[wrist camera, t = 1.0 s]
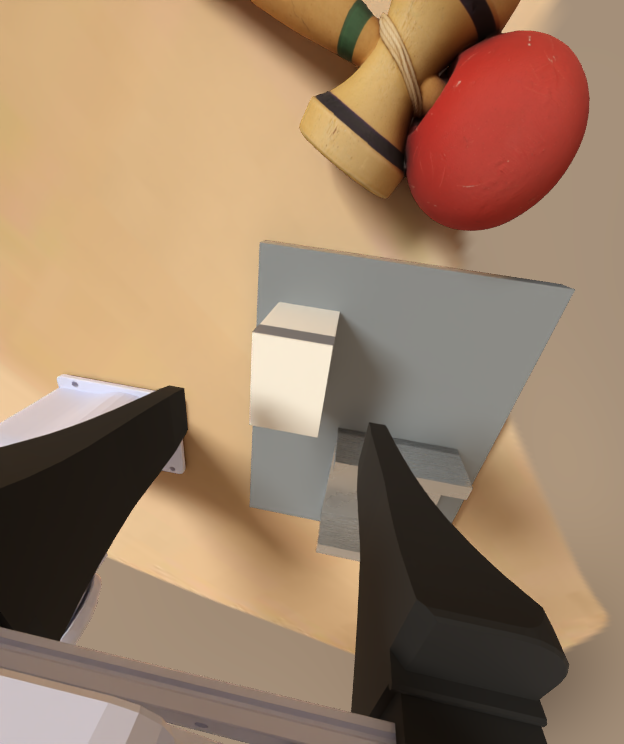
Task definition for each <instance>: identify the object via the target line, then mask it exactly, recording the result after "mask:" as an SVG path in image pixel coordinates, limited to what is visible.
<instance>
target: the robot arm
mask: <svg viewBox="0 0 624 744" xmlns="http://www.w3.org/2000/svg"><path fill="white" fill-rule="evenodd" d="M57 382H58V386H59V388H58V389H56V390H54V391H53V392H51V393H49V394H48V395H46V396H44V397H43V398H41V399H39V400H38V401H36V402H34V403H33V404H31V405H29V406H28V407H26V408H24V409H23V410H21V411H19V412H18V413H16V414H14V415H13V416H11V417H9V418H8V419H6V420H4V421H3V422H1V423H0V744H222V743H219V742H217V741H214V740H211V739H209V738H206V737H203V736H200V735H198V734H195V733H192V732H189V731H187V730H184V729H181V728H178V727H175V726H172V725H169V724H167V723H171V724H175V725H179V726H182V727H187V728H190V729H194V730H198V731H202V732H206V733H210V734H214V735H218V736H222V737H226V738H230V739H233V740H238V741H241V742H245V743H249V744H547V742H546V739H545V736H544V733H543V730H542V727H545V726H546V725H547V719H546V716H545V713H544V710H543V708H542V705H541V702H540V699H541V698H542V697H543V696H544V695H546V694H547V693H548V692H550V691H551V690H552V689H553V688H555V687H556V686H557V685H559V684H560V683H561V682H562V681H563V679H564V678H565V677H566V675H567V673H568V668H569V663H568V661H567V659H566V656H565V654H564V652H563V650H562V647H561V645H560V643H559V640H558V638H557V636H556V633H555V631H554V629H553V627H552V625H551V623H550V621H549V619H548V617H547V615H546V613H545V611H544V610H543V608H542V607H541V606H540V605H539V604H538V603H536V602H535V601H534V600H533V599H532V598H530V597H529V596H528V595H527V594H526V593H524V592H523V591H522V590H521V589H520V588H519V587H517V586H516V585H515V584H514V583H513V582H511V581H510V580H509V579H508V578H507V577H505V576H504V575H503V574H502V573H501V572H500V571H499V570H498V569H497V568H495V567H494V566H493V565H492V564H491V563H490V562H489V561H488V560H487V559H486V558H485V557H484V556H483V555H482V554H480V553H479V552H478V551H477V550H476V549H475V548H474V547H473V546H472V545H471V544H470V543H469V542H468V541H467V540H466V538H465V537H464V536H463V535H462V534H461V533H460V532H459V531H458V530H457V529H456V528H455V527H454V526H453V525H452V524H451V522H450V521H449V520H448V519H447V518H446V517H445V516H444V514H443V513H442V512H441V511H440V510H439V508H438V507H437V506H436V505H435V503H434V502H433V501H432V500H431V498H430V497H429V496H428V494H427V493H426V492H425V490H424V489H423V487H422V486H421V484H420V483H419V482H418V480H417V479H416V477H415V476H414V474H413V473H412V471H411V469H410V468H409V466H408V464H407V463H406V461H405V460H404V458H403V456H402V454H401V453H400V451H399V449H398V447H397V445H396V444H395V442H394V440H393V438H392V436H391V434H390V432H389V430H388V428H387V427H386V425H382V424H376V423H371V422H369V424H368V428H367V432H366V435H365V439H364V443H363V447H362V451H361V454H360V458H359V462H358V475H357V503H358V522H359V540H360V572H359V595H358V616H357V633H356V650H355V667H354V680H353V694H352V708H351V712H347V711H343V710H339V709H335V708H331V707H327V706H323V705H319V704H314V703H310V702H306V701H302V700H298V699H294V698H290V697H286V696H282V695H277V694H273V693H269V692H265V691H261V690H257V689H252V688H249V687H244V686H240V685H236V684H232V683H228V682H224V681H220V680H216V679H212V678H208V677H203V676H199V675H195V674H191V673H187V672H183V671H179V670H175V669H171V668H166V667H162V666H158V665H154V664H150V663H146V662H141V661H138V660H134V659H129V658H125V657H121V656H117V655H113V654H109V653H105V652H100V651H97V650H92V649H88V648H84V647H80V646H76V645H75V644H76V643H77V642H78V640H79V639H80V637H81V635H82V634H83V632H84V630H85V629H86V627H87V625H88V624H89V622H90V620H91V618H92V615H93V614H94V611H95V609H96V606H97V602H98V597H99V594H100V590H101V585H102V584H101V577H100V576H99V574H97V573H96V571H97V569H98V568H99V567H100V565H101V564H102V563H103V561H104V560H105V558H106V557H107V556H108V555H107V551H108V549H109V547H110V546H111V544H112V542H113V540H114V539H115V537H116V535H117V534H118V532H119V530H120V529H121V527H122V526H123V524H124V522H125V521H126V519H127V517H128V516H129V514H130V513H131V511H132V510H133V508H134V507H135V505H136V504H137V502H138V501H139V500H140V498H141V497H142V496H143V494H144V493H145V492H146V490H147V489H148V488H149V486H150V485H151V484H152V482H153V481H154V480H155V479H156V477H157V476H158V475H159V473H160V472H161V471H167V472H172V473H177V474H182V473H183V472H184V471H185V469H186V467H185V457H184V447H183V438H184V436H185V434H186V432H187V430H188V426H187V415H186V404H185V393H184V388H180V387H175V386H167V387H164V388H161V389H159V390H157V391H153V390H148V389H142V388H137V387H131V386H126V385H120V384H115V383H110V382H104V381H99V380H93V379H88V378H82V377H77V376H72V375H66V374H62V375H60V376H58V377H57ZM166 722H167V723H166Z"/></svg>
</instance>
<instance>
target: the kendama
mask: <svg viewBox="0 0 624 744" xmlns="http://www.w3.org/2000/svg"><path fill="white" fill-rule="evenodd" d="M251 1H252V2H253V3H254V4H255V5H257V6H258V7H260V8H261V9H262V10H264V11H265V12H266V13H268V14H269V15H271V16H272V17H274V18H275V19H277V20H278V21H280V22H281V23H283V24H284V25H286V26H287V27H289V28H291V29H292V30H294V31H295V32H297V33H299V34H300V35H302V36H304V37H306V38H307V39H310V40H311V41H313V42H314V43H317V44H319V45H320V46H322V47H324V48H326V49H328V50H329V51H331V52H333V53H335V54H337V55H339V56H340V57H342V58H344V59H346V60H348V61H350V62H352V63H353V64H354V65H356V66H359V67H360V68H359V69H358V70H357V71H356V72H355V73H354V74H353V75H352V76H351V77H350V78H348V79H347V80H346V81H345V82H343V83H342V84H340V85H339V86H337V87H336V88H334V89H332V90H331V91H328V92H326V93H324V94H320V95H317V96H314V97H312V98H311V100H310V102H309V104H308V106H307V109H306V111H305V114H304V116H303V118H302V120H301V123H300V127H299V128H300V131H301V133H302V134H303V136H304V137H305V138H306V140H307V141H309V142H310V143H311V144H312V145H313V146H314V147H315V148H316V149H317V150H318V151H319V152H320V153H321V154H322V155H323V156H324V157H326V158H327V159H328V160H329V161H330V162H332V163H333V164H334V165H335V166H336V167H338V168H339V169H340V170H341V171H343V172H344V173H345V174H346V175H348V176H349V177H350V178H351V179H353V180H354V181H355V182H357V183H358V184H360V185H361V186H363V187H364V188H365V189H367V190H368V191H370V192H371V193H373V194H374V195H376V196H379V197H381V198H388V197H389V196H390V195H391V193H392V192H393V191H394V190H395V188H396V187H397V186H398V184H399V183H400V182H401V180H402V179H403V178H404V176H405V177H406V178H407V181H408V184H409V188H410V191H411V193H412V196H413V198H414V200H415V201H416V203H417V204H418V206H419V207H420V208H421V209H422V211H423V212H424V213H425V214H426V215H428V216H429V217H430V218H431V219H433V220H434V221H436V222H437V223H439V224H442V225H444V226H446V227H449V228H453V229H457V230H468V231H475V230H484V229H489V228H493V227H497V226H500V225H502V224H504V223H507V222H509V221H510V220H512V219H514V218H516V217H518V216H519V215H521V214H522V213H524V212H525V211H527V210H528V209H530V208H531V207H532V206H534V205H535V204H536V203H537V202H539V201H540V200H541V199H542V198H543V197H544V196H545V195H546V194H547V193H549V191H550V190H551V189H552V188H553V187H554V186H555V185H556V184H557V182H558V181H559V180H560V178H561V177H562V176H563V174H564V173H565V171H566V170H567V169H568V167H569V165H570V164H571V162H572V160H573V158H574V157H575V155H576V153H577V151H578V149H579V147H580V144H581V141H582V139H583V136H584V133H585V130H586V126H587V120H588V114H589V99H590V98H589V91H588V83H587V79H586V76H585V73H584V71H583V68H582V65H581V64H580V62H579V60H578V58H577V57H576V56H575V54H574V53H573V52H572V50H571V49H570V48H569V47H568V46H567V45H565V44H564V43H563V42H562V41H560V40H558V39H556V38H555V37H553V36H551V35H548V34H545V33H541V32H536V31H514V32H509V33H501V31H502V30H503V28H504V27H505V25H506V24H507V22H508V20H509V19H510V17H511V15H512V14H513V12H514V11H515V9H516V7H517V6H518V4H519V2H520V0H392V1H391V5H390V8H389V12H388V15H386V14H385V13H384V12H383V13H382V15H381V17H380V19H378V18H376V17H375V16H374V15H373V14H372V12H371V11H370V10H369V9H368V7H367V5H366V4H365V3H364V2H363V1H362V0H251ZM448 66H449V67H448ZM447 67H448V68H447Z"/></svg>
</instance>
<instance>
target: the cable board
mask: <svg viewBox="0 0 624 744" xmlns="http://www.w3.org/2000/svg"><path fill="white" fill-rule="evenodd" d="M574 291H575V289H572V288H570V287H567V286H564V285H562V284H556V283H550V282H543V281H536V280H530V279H523V278H516V277H509V276H502V275H496V274H489V273H482V272H476V271H469V270H463V269H456V268H449V267H442V266H436V265H429V264H422V263H416V262H409V261H402V260H395V259H389V258H382V257H375V256H369V255H362V254H355V253H348V252H342V251H335V250H328V249H322V248H315V247H308V246H302V245H295V244H288V243H281V242H275V241H268V240H265V241H262V242H260V250H259V276H258V302H257V326H258V325H259V324H260V323H261V322H262V321H263V320H264V319H265V318H266V316H267V315H268V314H269V313H270V312H271V311H272V309H273V308H274V307H275V306H276V305H277V304H278V302H283V303H289V304H295V305H302V306H308V307H314V308H320V309H326V310H333V311H339V312H340V313H339V319H338V325H337V331H336V337H335V343H334V349H333V354H332V360H331V366H330V372H329V378H328V384H327V389H326V395H325V400H324V406H323V412H322V418H321V424H320V429H319V435H318V438H317V437H312V436H306V435H301V434H296V433H290V432H285V431H279V430H274V429H269V428H263V427H258V426H253V432H252V458H251V484H250V507H253V508H258V509H263V510H267V511H272V512H277V513H282V514H287V515H292V516H297V517H302V518H307V519H312V520H316V521H320V516H321V510H322V505H323V501H324V496H325V491H326V486H327V481H328V476H329V472H330V467H331V462H332V457H333V452H334V448H335V443H336V438H337V433H338V428H339V427H340V428H345V429H351V430H356V431H361V432H367V428H368V424H369V422H371V423H376V424H382V425H386V427H387V428H388V430H389V432H390V434H391V436H392V437H394V438H399V439H405V440H410V441H416V442H421V443H426V444H432V445H437V446H443V447H448V448H454V449H457V450H458V452H459V455H460V457H461V460H462V462H463V465H464V467H465V470H466V472H467V475H468V477H469V480H470V482H471V485H472V484H473V482H474V480H475V478H476V476H477V474H478V473H479V471H480V469H481V467H482V465H483V463H484V461H485V459H486V457H487V455H488V454H489V452H490V450H491V448H492V446H493V444H494V442H495V440H496V438H497V437H498V435H499V433H500V431H501V429H502V427H503V425H504V423H505V421H506V419H507V418H508V416H509V414H510V412H511V410H512V408H513V406H514V404H515V402H516V400H517V399H518V397H519V395H520V393H521V391H522V389H523V387H524V385H525V383H526V381H527V380H528V377H529V376H530V374H531V372H532V370H533V368H534V366H535V365H536V362H537V361H538V359H539V357H540V355H541V353H542V351H543V349H544V347H545V346H546V344H547V342H548V340H549V338H550V336H551V334H552V332H553V330H554V329H555V326H556V324H557V323H558V321H559V319H560V317H561V315H562V313H563V311H564V310H565V308H566V306H567V304H568V302H569V300H570V298H571V296H572V294H573V293H574ZM463 501H464V499H459V498H454V497H449V496H443V495H441V497H440V499H439V501H438V503H437V505H436V506H437V507H438V508H439V510H440V511H441V512H442V513H443V514H444V516H445V517H446V518H447V519H448V520H449V521H450V522H451V524H452V522H453V520H454V518H455V516H456V514H457V512H458V510H459V508H460V507H461V505H462V503H463Z"/></svg>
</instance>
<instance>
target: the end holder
mask: <svg viewBox="0 0 624 744" xmlns="http://www.w3.org/2000/svg"><path fill="white" fill-rule="evenodd" d="M365 435H366V432H361V431H356V430H351V429H345V428H340V427H339V428H338V433H337V438H336V443H335V448H334V452H333V457H332V462H331V467H330V472H329V476H328V481H327V486H326V491H325V496H324V501H323V505H322V510H321V516H320V524H319V532H318V540H317V547H316V552H317V553H322V554H326V555H331V556H336V557H341V558H345V559H350V560H355V561H360V540H359V522H358V503H357V475H358V462H359V458H360V454H361V451H362V447H363V443H364V439H365ZM392 438H393V440H394V442H395V444H396V445H397V447H398V449H399V451H400V453H401V454H402V456H403V458H404V460H405V461H406V463H407V464H408V466H409V468H410V469H411V471H412V473H413V474H414V476H415V477H416V479H417V480H418V482H419V483H420V484H421V486H422V487H423V489H424V490H425V492H426V493H427V494H428V496H429V497H430V498H431V500H432V501H433V502H434V503H435V505H437V503H438V501H439V499H440V497H441V495H443V496H449V497H454V498H459V499H464V500H467V498H468V497H469V495H470V493H471V491H472V489H473V487H472V485H471V482H470V480H469V477H468V475H467V472H466V470H465V467H464V465H463V462H462V460H461V457H460V455H459V452H458V450H457V449H454V448H448V447H443V446H437V445H432V444H426V443H421V442H416V441H410V440H405V439H399V438H394V437H392Z"/></svg>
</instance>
